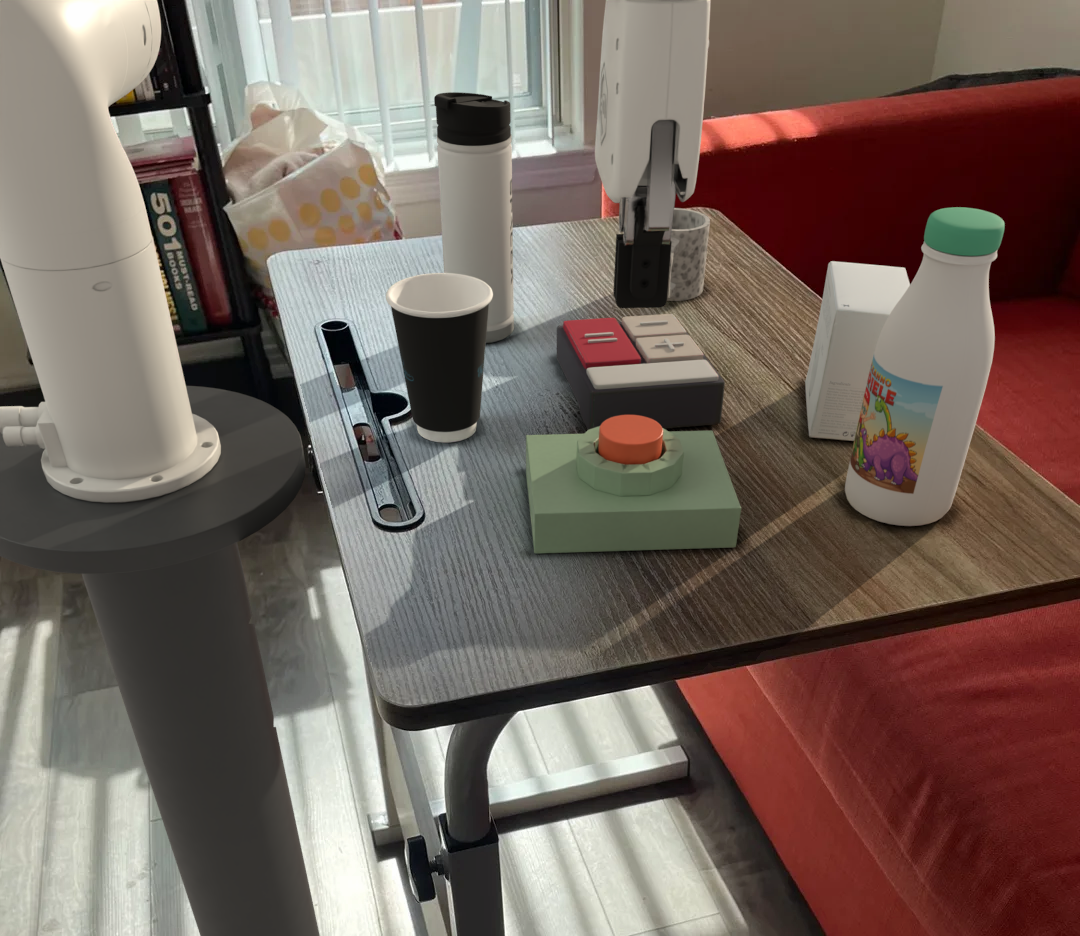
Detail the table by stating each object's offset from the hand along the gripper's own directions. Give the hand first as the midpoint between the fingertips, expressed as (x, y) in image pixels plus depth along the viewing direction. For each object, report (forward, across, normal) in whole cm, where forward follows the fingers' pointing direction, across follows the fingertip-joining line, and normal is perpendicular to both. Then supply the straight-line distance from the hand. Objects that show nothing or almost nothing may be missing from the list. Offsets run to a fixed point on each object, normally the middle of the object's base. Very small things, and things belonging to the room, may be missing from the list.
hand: (639, 302), depth 70 cm
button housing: (+15, 0, 0) cm, 15 cm away
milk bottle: (+15, 0, +20) cm, 25 cm away
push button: (+11, 0, 0) cm, 11 cm away
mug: (+15, -40, +9) cm, 44 cm away
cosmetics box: (+15, -14, +20) cm, 29 cm away
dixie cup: (+15, -13, -13) cm, 24 cm away
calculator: (+15, -19, +3) cm, 25 cm away
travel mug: (+15, -32, -10) cm, 37 cm away
